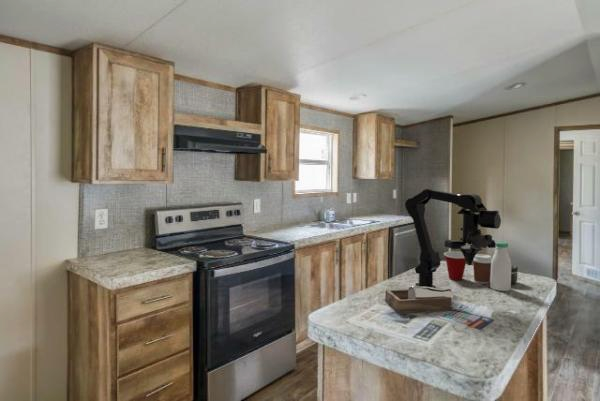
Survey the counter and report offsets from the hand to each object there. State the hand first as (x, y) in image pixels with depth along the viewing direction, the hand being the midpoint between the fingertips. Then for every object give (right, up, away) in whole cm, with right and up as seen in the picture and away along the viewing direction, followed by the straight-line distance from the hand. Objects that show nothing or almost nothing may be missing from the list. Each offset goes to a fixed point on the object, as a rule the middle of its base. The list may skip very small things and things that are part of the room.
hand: (469, 265), depth 148 cm
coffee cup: (+16, -12, +22) cm, 30 cm away
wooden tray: (-23, -14, -9) cm, 28 cm away
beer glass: (-11, -10, -8) cm, 17 cm away
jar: (+26, -12, +22) cm, 36 cm away
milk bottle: (+19, -12, +12) cm, 25 cm away
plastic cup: (+6, -11, +27) cm, 30 cm away
